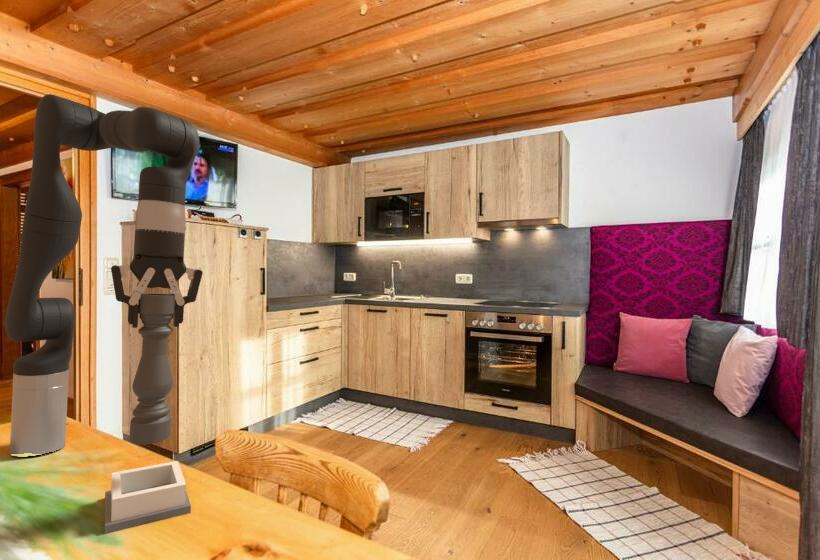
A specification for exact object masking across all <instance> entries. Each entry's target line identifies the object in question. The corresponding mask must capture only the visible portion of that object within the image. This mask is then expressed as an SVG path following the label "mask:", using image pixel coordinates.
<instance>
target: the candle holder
mask: <svg viewBox="0 0 820 560" xmlns="http://www.w3.org/2000/svg"><path fill="white" fill-rule="evenodd" d="M137 305H138V306H139V311H138V318H139V319H140V320H141V323H142V324H143V325H142V327H141V326H140V328H139V329H138V331H137V332H138V335H141V338H142V343H141V344H142V345H141V347H142V348H141V356H140V359H139V363H138V365H137V370H136V372H135V376H134V379H133V381H132V386H131V388H132V391H133V393H134V395H135V396H136V397H137V402H138V404H137V405H136V407H135V408H134V409H133V410H132V416H133V417H131V419H130V423H129V442H130V443H132V444H135V445H151V444H152V445H153V444H157V443H161V442H164V441H166V440H168V439H169V438H170V437H171V430H172V429H171V428H172V415H171V414H169V413H170V412H171V406H170V405H169V404H168V403H167V401H166V400H167V399H168V396H167V395H169V394H170V392H171V391H172V389H173V386H174V378H173V374H172V369H171V365H170V360H169V354H168V345H169V344H168V343H169V337H170V335H172V334H173V332H174V329H173V328H172V326H170V323H171V321H173V314H174V313H175V306H176V300H175V295H172V294H171V293H156V292H154V293H151V292H149V293H144V292H143V294H142V295H141V297H140V299H139V301H138V303H137Z"/></svg>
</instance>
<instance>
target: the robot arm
mask: <svg viewBox="0 0 820 560" xmlns="http://www.w3.org/2000/svg"><path fill="white" fill-rule="evenodd" d="M34 116H35V117H34V129H33V148H32V150H33V151H32V166H31V172H30V173H31V174H30V180H29V181H30V182H29V185H28V187H29V188H28V192H27V198H26V203H25V209H24V214H23V221H22V228H21V236H20V237H21V238H20V248H19V254H18V255H19V256H18V263H17V266H16V271H15V276H14V281H13V284H12V288H11V291H10V295H9V299H8V303H7V308H6V313H5V320H4V322H5V323H4V326H5V327H4V328H5V333H6V336H7V337H8V339H9V340H11V341H12V342H16V343H17V342H18V343H21V342H22V343H24V342H25V343H26V342H37V341H44V344H42V346H40V347H39V348H38V349H36V350H34V351H33V352H30V353H28V354H24V355H23V356H20V357H18V358H17V359H16V360H15V361H14V363H13V371H12V372H13V373H12V374H13V375H12V400H11V418H10V419H11V420H10V421H11V422H10V434H9V435H10V436H9V438H10V439H9V441H10V442H9V455H10V454H24V453H32V454H44V453H49V452H53V453H55V452H57V451H56V450H58V451H60V450H62V449H63V448H64V447H65V446H66V437H67V436H66V433H67V415H68V398H69V394H68V393H69V376H70V375H69V374H70V360H71V357H72V354H73V342H74V333H75V326H76V312H75V311H76V310H75V307H74V304H73V302H72V301H71V300H70V299H69V298H67V297H38V296H39V293H40V290H41V287H42V286H43V283H44V281H45V280H46V278H47V277H48V276H49V275H50V273H51V272H52V271H53V270H54V269H55V268H56V267H57V266H58V265H59V264H61V262H62V261H64V259H65V258H67V256H68V255H70V254H71V252H72V251H73V250H74V249H75V247H76V245H77V244H78V241H79V238H80V231H81V225H82V220H83V212H82V208H81V206H80V203H79V201H78V199H77V197H76V196H75V193H74V191H73V190H72V189H71V187H70V185H69V183H68V180H67V179H66V177H65V175H64V172H63V171H64V170H63V168H62V164H61V153H60V152H61V146H65V147H67V148H72V149H76V150H81V151H85V152H86V151H87V152H94V151H95V152H96V151H102V150H108V149H119V150H125V151H132V152H139V153H141V152H143V153H145V152H150V153H155V154H158V155H161V156H165V157H167V161H166V163H165V165H164V166H146V167H143V169H141V171H140V174H139V179H138V181H139V182H138V198H137V199H138V201H137V208H136V211H135V212H136V213H135V221H134V240H133V241H134V243H133V258H132V260H131V261H130V264H123V265H117V264H114V265H112V266H111V267H110V270H111V278H112V283H113V288H114V293H115V294H114V295H115V299H116V301H117V302H120V303H124V304H127V306H128V309H127V322H128V324H129V325H131V328H133V329H135V328H137V329H138V325H139V313H138V311H139V306H138V301H139V299H140V297H141V295H142V294H144V292H145V290H146V289H147V288H148V289H155V288H161V289H169V291H170V294H172V295H175V300H176V306H175V313H174V314H173V318H172V326H173V327H174V328H179V326H180V324H182V323H183V322H184V310H185V306H186V305H187V304H190V303H194V302H196V300H197V296H198V292H199V289H200V285H201V281H202V276H203V271H202V269H197V268H195V269H194V268H190V267H189V268H188V267H187V266H186V263H185V260H184V259H185V242H186V238H185V237H186V230H187V225H186V222H187V221H186V219H187V217H186V216H187V215H186V191H187V190H186V189H187V183H188V179H189V177H190V173H191V170H192V167H193V164H194V161H195V160H196V157H197V154H198V152H199V147H200V137H199V133H198V130H197V128H196V126H195V125H194V124H193V123H192V122H191V121H188V120H187V119H183V118H182V117H178V116H175V115H173V114H170V113H167V112H164V111H162V110H159V109H156V108H152V107H147V106H138V107H136V108H134V109H132V110H111V111H109V112H106V113H104V112H103V111H99V110H97V109H95V108H94V107H91V106H89V105H87V104H83V103H80V102H78V101H74V100H71V99H68V98H65V97H62V96H59V95H56V94H51V93H49V94H45V95H43V96H42V97H41V99H40V100H39V102H38V104H37V107H36V111H35V115H34ZM129 271H131V273H132V274H133V275H134V276H135V278H136V279H137V280H138V282H137V284H136V286H135V287H134V289H133V291H132V293H131V295H127V294H125V290H124V285H123V279H124V278H126V277H127V275H128V274H127V273H128V272H129ZM185 274H187V279H188V280H189V281H190V283H189V285H188V289H187V294H186V295H184V296H183V295H182V292H181V289H180V286H179V285H178V283H177V282H178V281H180V279H181V278H182V277H183V275H185ZM59 449H60V450H59ZM54 451H55V452H54ZM49 454H50V453H49Z"/></svg>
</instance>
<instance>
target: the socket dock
mask: <svg viewBox="0 0 820 560" xmlns="http://www.w3.org/2000/svg"><path fill="white" fill-rule="evenodd" d="M110 480H111V482H110V483H111V484H110V486H111V487H110V490H107V491H104V493H105V494H104V495H105V496H104V534H108V533H109V534H110V533H113V532H117V531H120V530H125V529H129V528H134V527H137V526H140V525H145V524H149V523H154V522H158V521H161V520H165V519H166V520H167V519H170V518H174V517H177V516H182V515H186V514H191V511H192V505H191V501H190V499H189V496H188V492H187V483H186V480H185V477H184V473H183V472H182V468H181V466H180V464H179V460H175V461H171V462H169V461H168V462H164V463H158V464H153V465H148V466H142V467H138V468H131V469H126V470H120V471H115V472H111V479H110Z"/></svg>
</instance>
